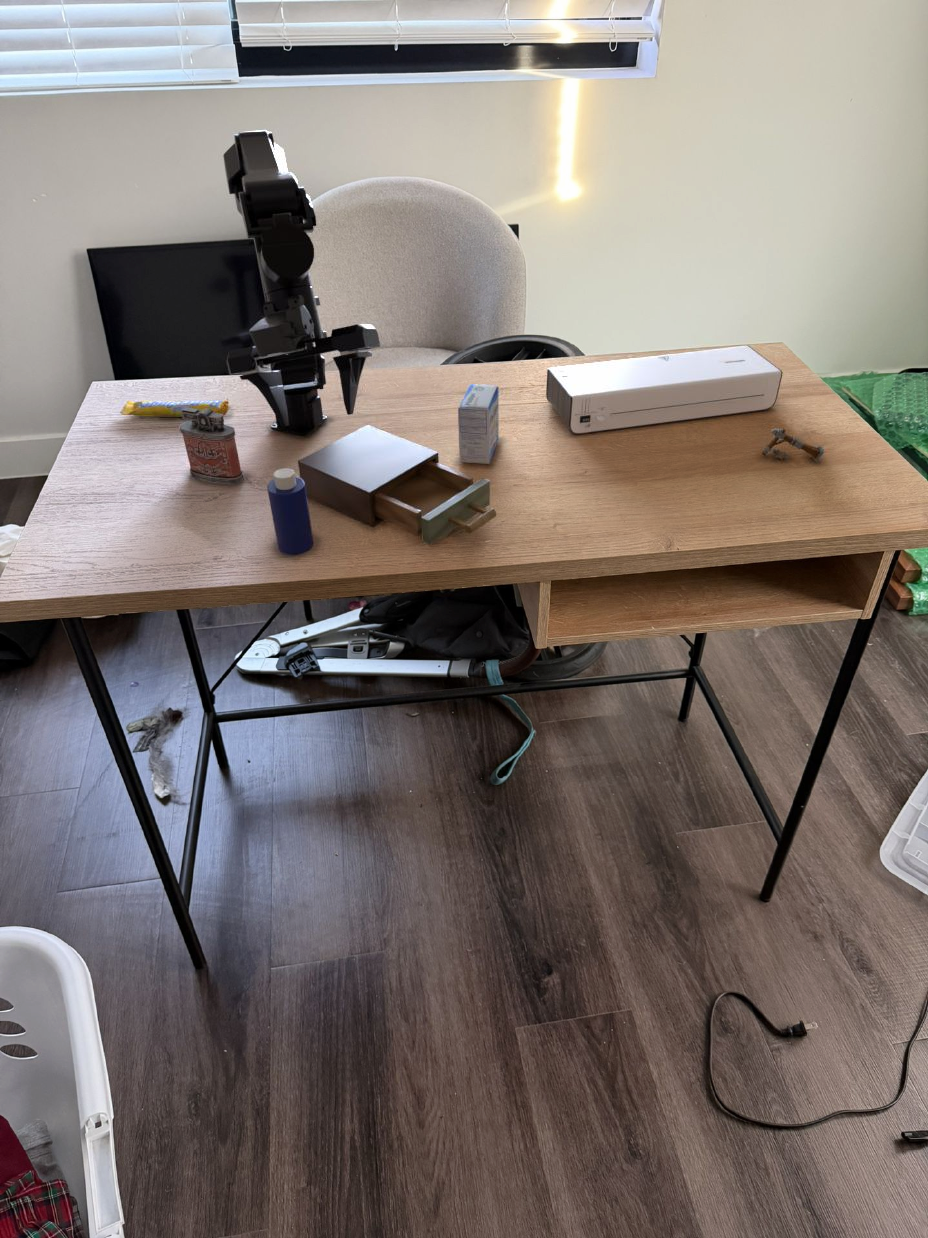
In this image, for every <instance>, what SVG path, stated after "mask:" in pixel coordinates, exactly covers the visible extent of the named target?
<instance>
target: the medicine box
mask: <svg viewBox="0 0 928 1238" xmlns="http://www.w3.org/2000/svg"><path fill="white" fill-rule="evenodd" d="M499 390H500V389H499V386H498V385H492V384H483V383H482V384H479V383H478V384H477V383H476V384H475V383H474V384H469V385H468V387H467V390H466V392H465V394H464V396H463V397H462V400H461V402H460V404H459V406H458V408H457V421H458V422H457V424H458V425H457V427H458V449H459V451H458V454H459V462H460V463H466V464H479V465H480V464H481V465H489V464H491V460H492V458H493V455H494V452H495V450H496V447H497V445H498V442H499V419H500V418H499V409H500V408H499V407H500V406H499V404H500V403H499V402H500V400H499V397H500V395H499V394H500V392H499Z"/></svg>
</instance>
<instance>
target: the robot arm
mask: <svg viewBox="0 0 928 1238" xmlns="http://www.w3.org/2000/svg"><path fill="white" fill-rule="evenodd" d="M233 137H234V138H233V139H234V143H233V144H232V145H231V146H230V147H229V148H228V149H227V150H226V151H225V152H224V153H223V156H222V157H223V164H224V172H225V176H226V183H227V184H226V185H227V189H228V194H229V195H233V196H234V199H235V205H236V210H237V211H238V213H239V214H240V216H242V222H243V225H244V229H245V233H246V237H247V239H253V243H254V249H255V253H256V259H257V264H258V269H259V275H260V280H261V285H262V290H263V296H264V302H263V303H262V305H263V307H262V311H263V314H264V316H263V318H262V319H260V320H258V321H257V322H256V323H255V324H254V325H253V326H252V327H251V328H249V330H248V332H249V335H250V338H251V340H252V342H253V344H254V346H249V347H244V348H238V349H234V350H230V351H229V352H228V355H227V356H226V361H225V363H226V366H227V370H228V374H229V376H231V375H239V378H240V380H241V381H248V382H249V383H251V384H252V385H254V387H256V388H257V389H258V391H259V392H260V393H261V395H262V396H263V397H264V399H265V400H266V402H267V404H268V405H269V407H270V408H271V410H272V412H273V413H274V416H275V422H273V423H271V425H270V429H271V430H272V431H277V432H283V433H286V434H291V435H295V436H301V437H307V436H309V435H310V434H312V432H314V431H315V430H316V429H318V427H320V426H321V425H322V424H324V423H325V422H327V420H328V417H327V415H325V414H324V412H323V407H322V406H323V405H322V398H321V396H319V392H318V391H319V390H324V386H325V385H326V384H327V379H326V360H325V357H324V356H322V355H323V354H327V353H332V352H339V354H340V355H336V356H333V357H332V359H333V361H334V364H335V366H336V368H337V369H338V373H339V379H340V385H341V386H340V387H341V393H342V398H343V405H344V407H345V408H344V409H345V412H346V414H347V415H348V416H350V415H354V411H355V406H356V400H357V395H358V390H359V384H360V381H361V377H362V373H363V369H364V366H365V363H366V360H367V358H370V357H372V356H373V354H372V353H373V352H372V351H370V350H371V349H377V348H380V347H381V342H380V337H379V332H378V330H377V329H376V328H375V326H373V325H372V324H366V323H364V324H363V323H359V324H352V325H346V326H343V327H339V328H333V329H332V330H331V335H330V336H328V334H327V331H326V330H322V326H321V320H320V316H319V311H318V306H321V300H320V297H319V296H317V295H316V296H315V292H314V287H313V283H312V278H311V273H310V270H311V267H312V266H313V263H314V260H315V246H314V243H313V242H312V239H311V237H310V236H309V234H311V233H313V232H314V230H315V229H314V227H317V216H316V212H315V210H314V206H313V204H312V201H311V197H310V196H309V195H308V194H307V192H306V189H305V187H304V186H299V183H298V179H297V178H296V176H295V175H294V173H292V172H290V171H288V166H287V161H286V155H285V151H284V149H283V148H282V147H281V146H280V145H278V144H276V143H275V141H274V135H273V131H267V130H266V129H263V130H250V131H249V130H248V131H239V132H238V133H237V134H233Z"/></svg>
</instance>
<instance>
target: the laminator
mask: <svg viewBox="0 0 928 1238" xmlns="http://www.w3.org/2000/svg"><path fill="white" fill-rule="evenodd" d="M783 374H784V373H783V371H782V370H781V369H780V368H779V367H777V366H776V365H775V364H774V363H773V362H771V361H769V360H768V359H767V358H766V357H764V356H763V355H762V354H760V353H759V352H758V351H756V350H755V349H754V348H752V347H751V346H750V345H740V346H739V345H738V346H731V347H722V348H721V347H720V348H714V349H713V348H712V349H705V350H697V351H688V352H686V351H685V352H679V353H670V354H662V355H661V354H660V355H652V356H643V357H635V358H625V359H617V360H608V361H600V362H592V363H583V364H575V365H565V366H557V367H555V366H554V367H548V368H547V370H546V387H545V388H546V391H545V397H546V400H547V402H548V403H550V405H551V407H552V408H553V409H554V410H555V411H556V413H557V414H558V415H559V417H560V418H561V420H562V421H563V422H564V424H565V425H566V426H567V427H568V429H569V432H570V433H571V434H573V435H577V436H578V435H579V436H580V435H587V434H588V435H589V434H595V433H603V432H604V433H605V432H611V431H619V430H627V429H634V428H635V429H636V428H641V427H648V426H657V425H664V424H673V423H681V422H688V421H696V420H704V419H711V418H719V417H726V416H733V415H741V414H743V415H744V414H748V413H759V412H765V411H768V410H770V409H772V408H774V406H775V404H776V403H777V399H778V395H779V391H780V387H781V382H782V378H783Z"/></svg>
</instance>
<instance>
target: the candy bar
mask: <svg viewBox="0 0 928 1238" xmlns="http://www.w3.org/2000/svg"><path fill="white" fill-rule="evenodd" d="M229 403H230V400H229V398H228V397H226V400H225V399H224V400H192V401H191V400H190V401H160V400H159V401H157V400H156V401H148V400H145V401H144V400H143V401H135V402H134V401H131V400H127V402H126V403H125V404H124V406H123V408H122V409H121V410H120V411H119V413H120V414H121V415H123V416H135V417H154V418H182V415H181V410H182V409H183V408H185V407H186V408H193V409H198V410H200V411H203V410H204V409H206V408H209V409H211V410H212V411H213V412H214V413H220V414H223V417H224V416H226V415H227V413H228V411H229V410H230V408H229Z"/></svg>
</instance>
